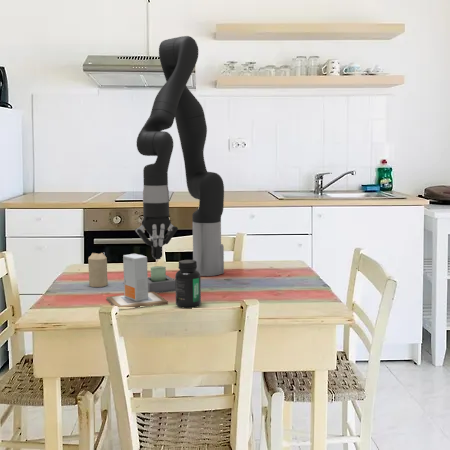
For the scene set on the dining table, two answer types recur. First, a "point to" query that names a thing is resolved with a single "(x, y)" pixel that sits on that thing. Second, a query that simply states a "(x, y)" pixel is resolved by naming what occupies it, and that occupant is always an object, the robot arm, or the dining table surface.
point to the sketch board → (126, 302)
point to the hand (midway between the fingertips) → (157, 258)
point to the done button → (158, 273)
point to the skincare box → (135, 277)
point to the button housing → (161, 285)
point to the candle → (97, 270)
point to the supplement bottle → (188, 284)
